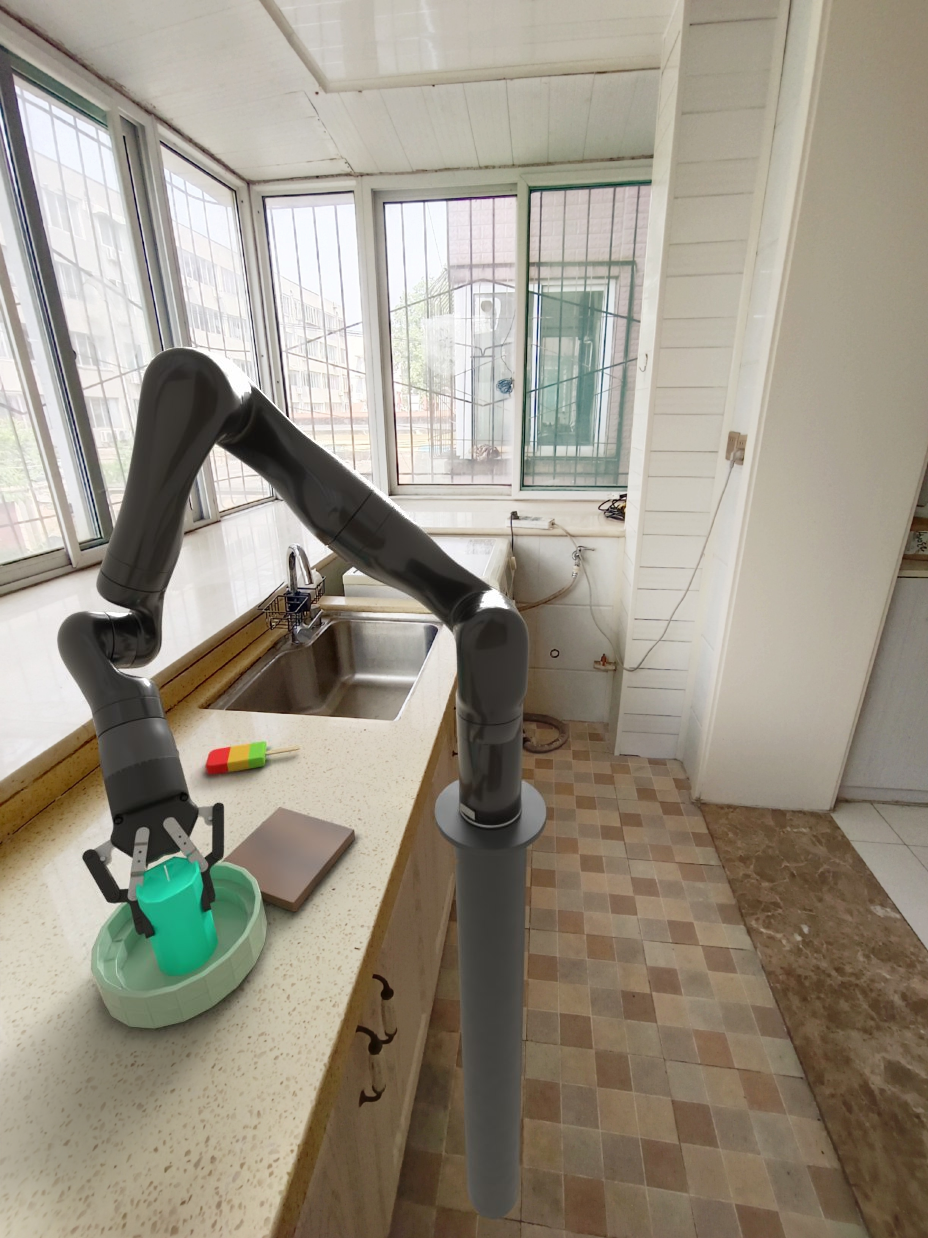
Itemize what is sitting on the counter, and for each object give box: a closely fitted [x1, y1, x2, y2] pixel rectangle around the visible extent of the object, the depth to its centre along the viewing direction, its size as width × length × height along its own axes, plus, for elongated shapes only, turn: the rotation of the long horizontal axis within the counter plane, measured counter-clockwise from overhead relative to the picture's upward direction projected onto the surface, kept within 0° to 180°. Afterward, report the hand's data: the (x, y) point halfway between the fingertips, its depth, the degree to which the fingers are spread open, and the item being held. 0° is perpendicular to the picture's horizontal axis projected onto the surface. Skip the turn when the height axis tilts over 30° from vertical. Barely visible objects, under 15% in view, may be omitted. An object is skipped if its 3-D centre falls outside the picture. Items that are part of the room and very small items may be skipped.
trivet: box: [221, 806, 356, 913], centre depth 72 cm, size 13×13×2 cm
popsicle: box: [205, 740, 301, 776], centre depth 93 cm, size 6×15×2 cm, turn 106°
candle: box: [136, 855, 218, 975], centre depth 57 cm, size 6×6×12 cm
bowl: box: [90, 861, 268, 1029], centre depth 59 cm, size 16×16×5 cm
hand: (180, 922), depth 56 cm, fingers closed on candle, 4 cm apart
